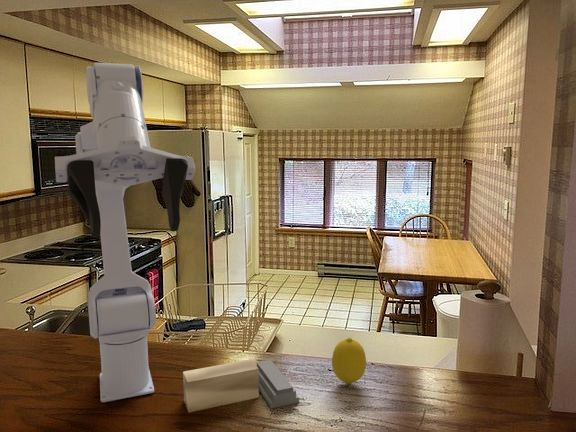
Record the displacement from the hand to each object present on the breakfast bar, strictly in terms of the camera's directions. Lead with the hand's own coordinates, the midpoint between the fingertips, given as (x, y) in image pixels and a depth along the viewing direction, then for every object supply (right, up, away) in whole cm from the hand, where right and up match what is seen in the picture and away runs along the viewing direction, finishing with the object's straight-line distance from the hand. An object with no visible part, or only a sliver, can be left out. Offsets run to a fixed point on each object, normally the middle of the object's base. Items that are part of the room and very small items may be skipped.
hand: (137, 227), depth 49 cm
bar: (+5, -28, +26) cm, 38 cm away
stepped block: (+13, -27, +29) cm, 41 cm away
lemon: (+25, -27, +31) cm, 48 cm away
